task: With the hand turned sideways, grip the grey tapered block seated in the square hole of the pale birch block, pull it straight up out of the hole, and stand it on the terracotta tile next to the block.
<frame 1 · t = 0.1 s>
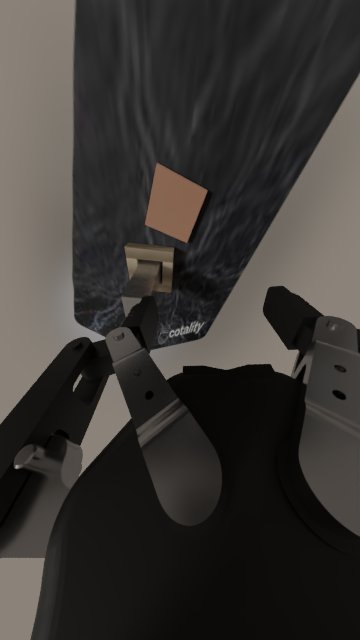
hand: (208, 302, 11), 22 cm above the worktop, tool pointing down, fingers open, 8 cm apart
tile: (174, 207, 25), on the worktop
grey tapered block: (146, 283, 27), in the socket block
socket block: (152, 266, 32), on the worktop
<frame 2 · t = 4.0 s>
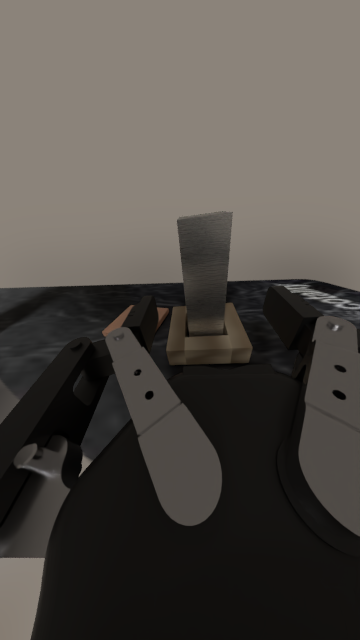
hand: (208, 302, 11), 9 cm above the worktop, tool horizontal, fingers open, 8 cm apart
tile: (138, 323, 25), on the worktop
grey tapered block: (203, 291, 16), in the socket block
socket block: (204, 336, 21), on the worktop
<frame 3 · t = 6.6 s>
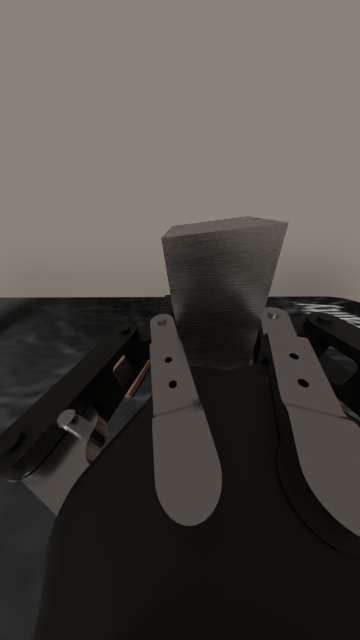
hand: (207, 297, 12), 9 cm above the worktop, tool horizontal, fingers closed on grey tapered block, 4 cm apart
grey tapered block: (211, 340, 11), in the socket block, touching gripper
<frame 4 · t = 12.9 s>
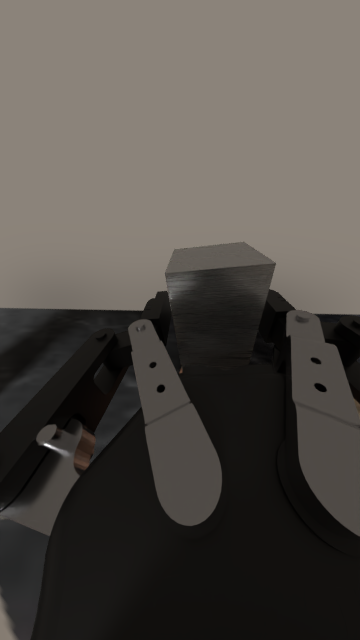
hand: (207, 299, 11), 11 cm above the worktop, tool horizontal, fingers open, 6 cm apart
grey tapered block: (210, 352, 11), on the tile, point 8 cm above the worktop
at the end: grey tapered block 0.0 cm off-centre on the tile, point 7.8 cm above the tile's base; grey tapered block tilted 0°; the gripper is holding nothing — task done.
